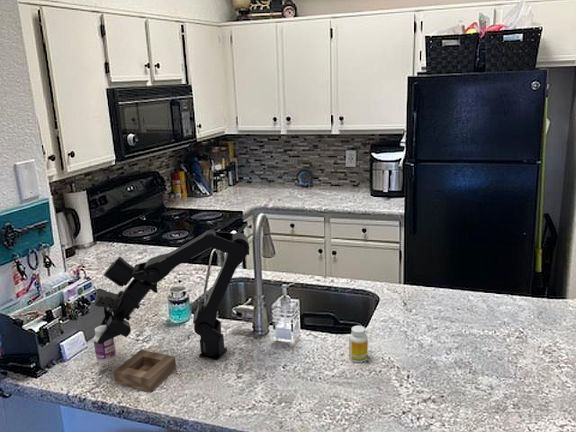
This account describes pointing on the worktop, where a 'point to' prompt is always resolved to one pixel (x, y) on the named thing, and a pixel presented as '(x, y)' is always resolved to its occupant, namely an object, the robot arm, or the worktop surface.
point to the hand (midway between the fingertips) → (98, 338)
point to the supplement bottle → (358, 344)
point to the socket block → (145, 370)
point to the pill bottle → (103, 346)
